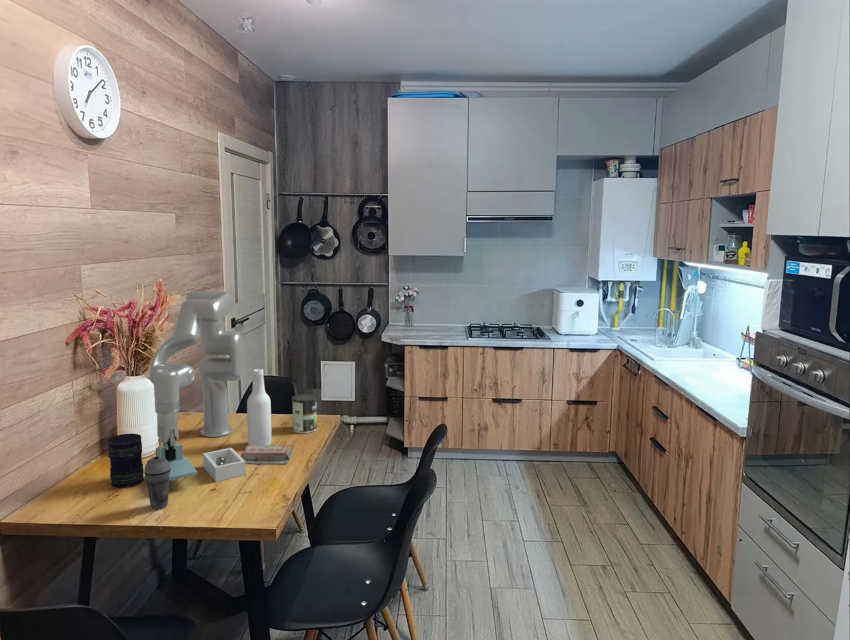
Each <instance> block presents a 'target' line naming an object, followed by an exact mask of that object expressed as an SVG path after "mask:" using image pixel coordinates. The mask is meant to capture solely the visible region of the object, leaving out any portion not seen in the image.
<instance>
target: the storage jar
mask: <svg viewBox="0 0 850 640" xmlns="http://www.w3.org/2000/svg"><path fill="white" fill-rule="evenodd" d="M142 442H143V441H142V435H141V434H138V433H122V434H117V435H115V436H112V437H110V438H109V439H108V441H107V443H108V446H107V447H108V448H107V449H108V450H107V451H108V457H109V462H110V468H109V471H110V472H109V478H110V485H111V487H112V488H114V489H129V488H132V487H136V486H138V485H141V484H142V483H143V482H144V471H145V468H144V463H143V459H142V458H143V457H142V453H143V443H142Z"/></svg>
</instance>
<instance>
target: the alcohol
mask: <svg viewBox="0 0 850 640" xmlns="http://www.w3.org/2000/svg"><path fill="white" fill-rule="evenodd" d="M264 371H265V370H264V369H263V368H256V369H252V391H251V393H250V394H249V395H248V398H247V401H246V410H247V411H246V415H247V420H246V421H247V444H248V445H265V446H271V444H272V406H271V402H272V401H271V398H270V396H269V395H268V393H267V392H266V389H265V388H266V387H265V378H264Z"/></svg>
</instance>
